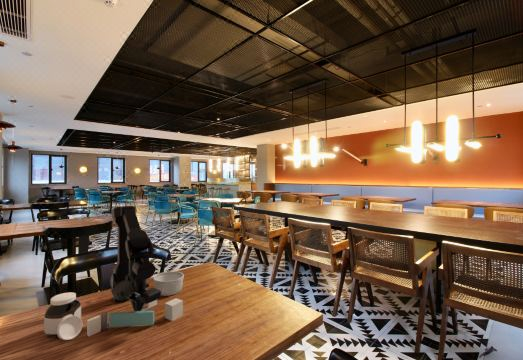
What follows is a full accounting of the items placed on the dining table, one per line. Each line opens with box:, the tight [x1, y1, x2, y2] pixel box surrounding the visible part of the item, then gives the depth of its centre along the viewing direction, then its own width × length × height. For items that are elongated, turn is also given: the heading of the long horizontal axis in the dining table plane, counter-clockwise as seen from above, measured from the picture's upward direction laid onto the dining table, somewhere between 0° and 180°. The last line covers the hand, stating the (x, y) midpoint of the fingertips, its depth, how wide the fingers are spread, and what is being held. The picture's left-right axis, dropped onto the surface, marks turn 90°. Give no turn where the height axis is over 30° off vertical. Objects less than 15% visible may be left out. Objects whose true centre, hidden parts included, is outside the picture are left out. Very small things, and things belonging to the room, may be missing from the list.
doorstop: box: [164, 297, 184, 322], centre depth 98 cm, size 4×5×6 cm
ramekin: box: [152, 270, 185, 297], centre depth 120 cm, size 13×13×7 cm
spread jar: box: [43, 291, 83, 341], centre depth 87 cm, size 12×11×12 cm
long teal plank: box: [108, 310, 155, 328], centre depth 91 cm, size 14×1×4 cm, turn 97°
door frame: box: [86, 299, 158, 337], centre depth 96 cm, size 2×26×5 cm, turn 149°
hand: (137, 314), depth 93 cm, fingers closed
